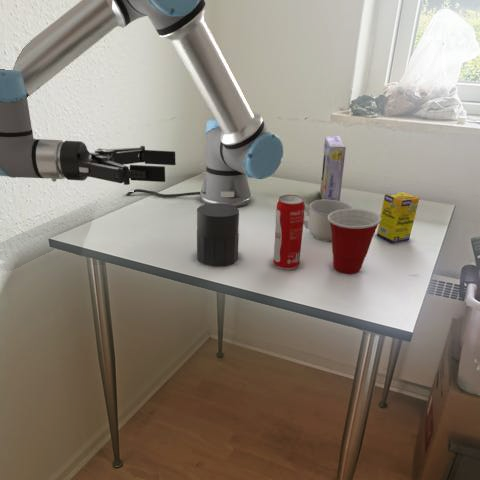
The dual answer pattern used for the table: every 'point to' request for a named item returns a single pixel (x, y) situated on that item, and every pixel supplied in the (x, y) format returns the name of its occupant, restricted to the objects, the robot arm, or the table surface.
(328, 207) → the teacup
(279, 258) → the beverage can
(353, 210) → the plastic cup
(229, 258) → the dark grey cup
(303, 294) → the table surface
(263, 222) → the table surface
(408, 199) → the supplement box
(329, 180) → the cake pan box
